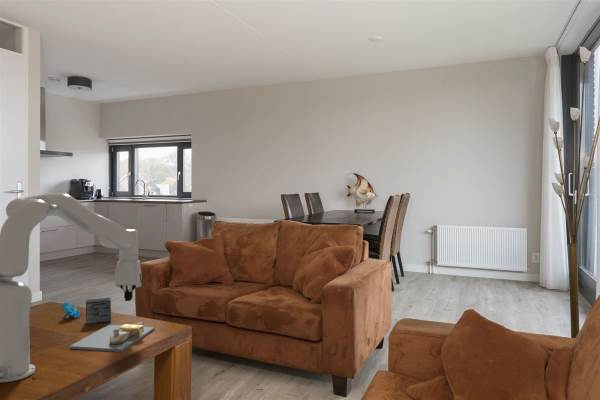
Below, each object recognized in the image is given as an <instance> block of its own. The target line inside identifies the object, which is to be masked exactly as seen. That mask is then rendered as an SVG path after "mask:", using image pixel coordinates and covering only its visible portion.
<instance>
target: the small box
mask: <svg viewBox="0 0 600 400" xmlns="http://www.w3.org/2000/svg"><path fill="white" fill-rule="evenodd" d="M111 300H112V299H111V297H103V298H102V297H101V298H92V299H86V301H85V319H86V321H85V322H86V323H85V326H88V325H89V326H90V325H96V324H105V323H106V324H107V323H111V322H112V308H111V306H112V305H111V304H112V303H111Z"/></svg>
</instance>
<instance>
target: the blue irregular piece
mask: <svg viewBox="0 0 600 400" xmlns="http://www.w3.org/2000/svg"><path fill="white" fill-rule="evenodd" d="M61 306H62V309H63V310H65V314H64V315H63V316H62V318H63V319H65V318H67V316H70V317H73V318H74V319H76V318H77V319H78V318H80V316H81V313H80V310H78V307H77V306H74V305H73V304H72V303H70V302H68V301H67V302H66V301H65V302H63V303H62V304H61Z"/></svg>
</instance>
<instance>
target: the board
mask: <svg viewBox="0 0 600 400" xmlns="http://www.w3.org/2000/svg"><path fill="white" fill-rule="evenodd" d="M122 325H123V324H122ZM122 325H121V324H120V325H119V324H107V325H106V326H104V327H102V328H100V329H98V330H97V331H95V332H92V333H91V334H89V335H87V336H86V337H84V338H82V339H80V340H78V341H75V343H73V344H71V345H69V349H73V350H86V351H99V352H100V351H103V352H114V353H115V352H118V353H123V352H124V351H126V350H127V349H128V348H130V347H131V346H133V345H134V344H136V343H137V342H139V341H140V340H141V339H143V338H144V337H146V336H147V335H149V334H150V333H152V332H153V331H155V329H156V328H155V327H153V326H144V329H143V336H142V337H140V338H135V337H134V335H132V336H131V337H129V338H127V339H125V340H124V341H123V342H122V343H120V344H110V336H111V335H113V334H114V329H119V327H120V326H122ZM120 331H122V330H119V332H120Z"/></svg>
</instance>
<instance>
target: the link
mask: <svg viewBox="0 0 600 400" xmlns="http://www.w3.org/2000/svg"><path fill="white" fill-rule="evenodd" d="M144 324H145V323H144V322H143V321H139V322H135V323H133V324H132V325H144ZM144 326H145V325H144ZM143 329H144V328H143ZM132 335H134V330H122V331H120V332H119V329H114V334H113V335H111V336H110V344H120V343H122V342H123V341H124V340H125V339H127V338H129V337H131V336H132Z"/></svg>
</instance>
